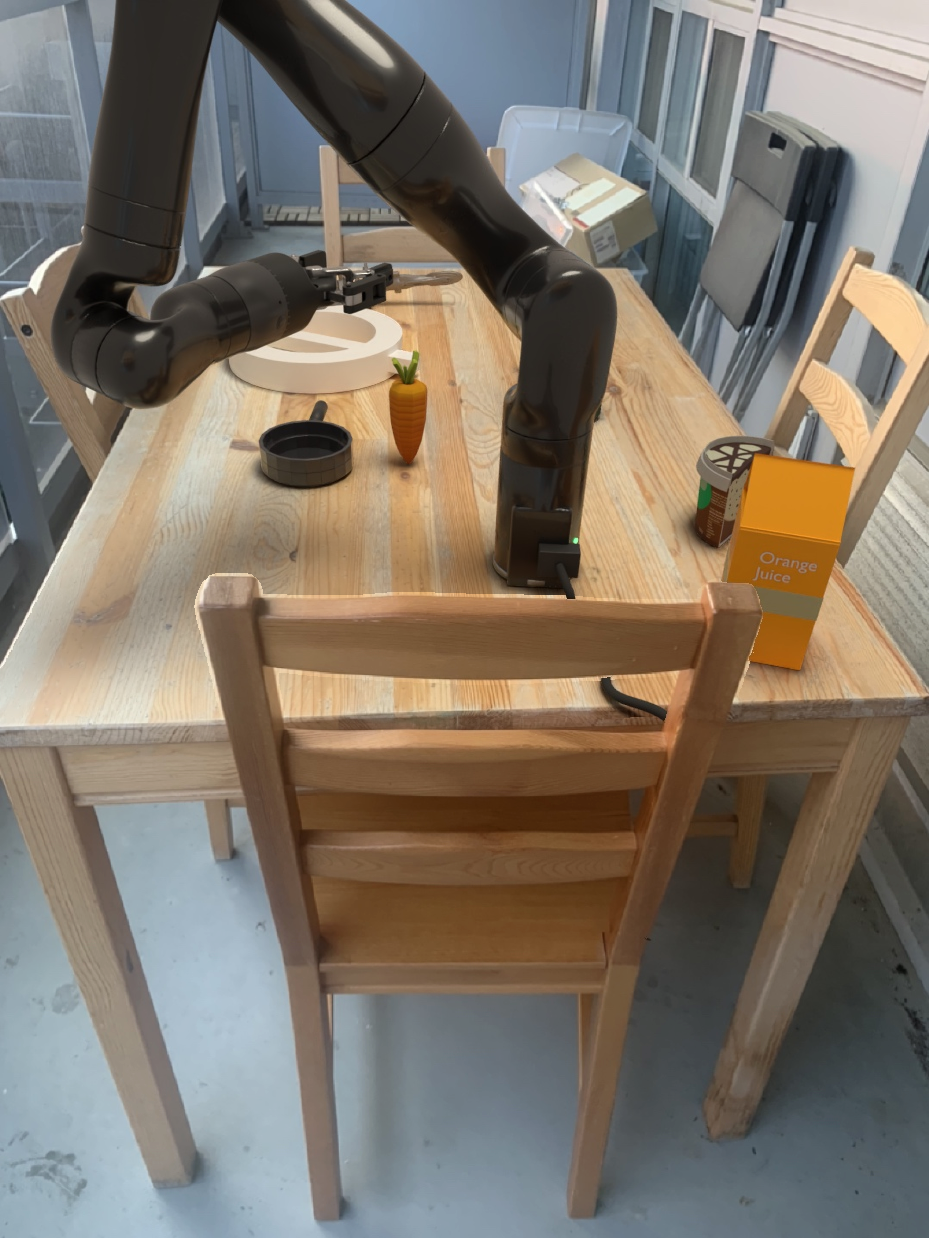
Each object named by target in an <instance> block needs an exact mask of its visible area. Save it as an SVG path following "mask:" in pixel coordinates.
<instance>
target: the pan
mask: <svg viewBox="0 0 929 1238" xmlns="http://www.w3.org/2000/svg"><path fill="white" fill-rule="evenodd" d="M258 449H259V457H260V458H259V459H260V466H261V471H262V473H263V474H265V475H266V476H267V478H269V479H271V480H273V481H275V482H276V483H280V484H281V485H285V486H289V487H295V488H296V487H297V488H313V487H319V486H326V485H330V484H332V483H334V482H337V481H339V480H340V479H342V478H344V477H345V476H347V475H348V474H349V473H350V472H351V471H352V470H353V466H354V464H355V461H354V460H355V457H354V438H353V435H352V433H351V432H350V431H349V430H348V429H347V428H345V427H344V426H342V425H339V424H337V423H335V422H330V421H325V420H323V421H317V420H309V419H304V420H302V419H301V420H293V421H288V422H287V421H286V422H282V423H279V424H276V425H274V426H272V427H270V428H268V429H266V430H265V431H264V432H262V433H261V435H260V437H259V439H258Z"/></svg>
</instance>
